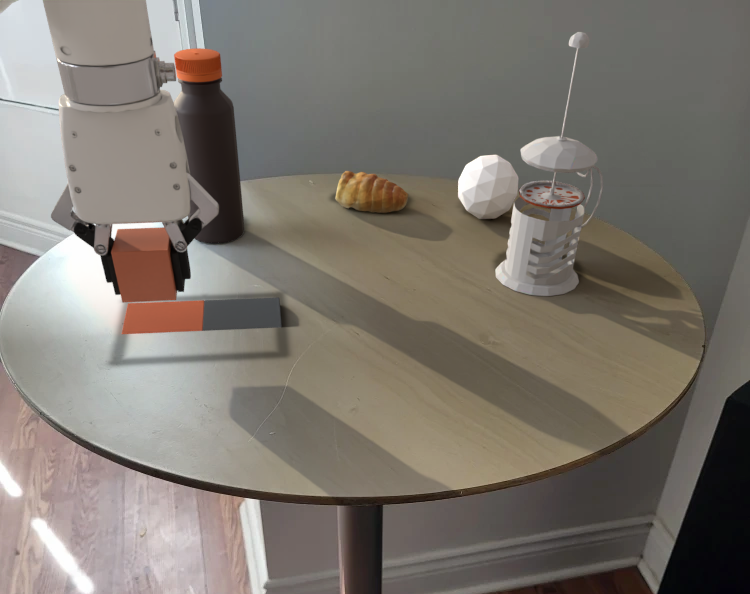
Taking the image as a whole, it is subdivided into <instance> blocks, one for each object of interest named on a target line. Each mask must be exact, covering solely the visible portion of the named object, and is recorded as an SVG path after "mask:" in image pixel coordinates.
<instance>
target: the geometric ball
mask: <svg viewBox="0 0 750 594" xmlns="http://www.w3.org/2000/svg"><path fill="white" fill-rule="evenodd" d="M515 170H516V169H515V168H514V167H513V165H512V164H511V162H509V161H508V160H507V159H505V158H503V157H501V156H500V155H498V154H489V155H480V156H478V157H476V158H475V159H473V160H472V161H470V162H468V163H467V164H465V166H464V168H463V170H462V172H461V174H460V176H459V178H458V180H457V181H458V183H457V186H458V187H457V188H458V189H457V191H458V192H457V198H458V199H459V201H460V203H461V204H462V205H463V207H464V209H465V210H466V212H467V213H469V214H471V215H473V216H474V217H476V218H477V219H478V220H491V219H493V220H494V219H498V217H500V216H501V215H504V214H505V213H507V212H509V211H510V210H511V208H512V207H513V205H514V202H515V201H516V199H517V196H518V194H519V176H518V174H517V172H516V171H515Z"/></svg>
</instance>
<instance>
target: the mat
mask: <svg viewBox="0 0 750 594" xmlns="http://www.w3.org/2000/svg"><path fill="white" fill-rule="evenodd" d="M278 328H279V329H280V328H283V325H282V314H281V301H280V297H253V298H252V297H251V298H229V299H227V298H226V299H205V300H204V299H203V300H201V299H200V300H199V299H198V300H179V301H177V300H172V301H147V302H127V306H126V310H125V316H124V320H123V325H122V329H121V335H140V334H142V335H143V334H163V333H185V332H209V331H230V330H231V331H233V330H254V329H255V330H256V329H278Z"/></svg>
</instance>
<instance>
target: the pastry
mask: <svg viewBox="0 0 750 594" xmlns="http://www.w3.org/2000/svg"><path fill="white" fill-rule="evenodd" d="M408 197H409V194H408V192H407V191H405V189H404V188H402V187H401V186H398V185H397V184H396V183H395V182H392V181H389V180H388V179H387V178H383V177H379V176H378V175H377V174H376V173H369V174H368V173H366V172H365V171H360V172H357V173H355V172H353V171H351V170H345V171H344V172H343V173H342V174H341V177H340V179H339V180H338V184H337V188H336V193H335V197H334V199H335V201H336V202H337V203H338V204H340V205H341V207H343V208H345V209H349V208H353V209H355V210H356V211H360V212H370V213H372V214H374V213H377V214H380V213H381V214H387V213H391V212H399V211H401V210H403V209H404V208H405V206H407V202H408Z"/></svg>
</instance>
